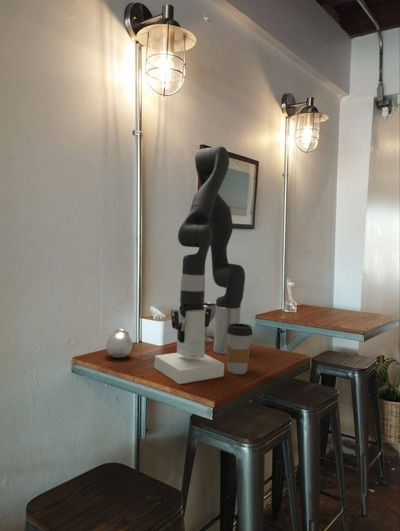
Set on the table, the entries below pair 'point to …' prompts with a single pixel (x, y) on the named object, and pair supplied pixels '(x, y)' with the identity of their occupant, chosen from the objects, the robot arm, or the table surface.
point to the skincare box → (193, 335)
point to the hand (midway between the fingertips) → (190, 341)
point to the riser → (188, 367)
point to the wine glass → (213, 312)
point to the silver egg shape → (119, 343)
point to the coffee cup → (238, 347)
